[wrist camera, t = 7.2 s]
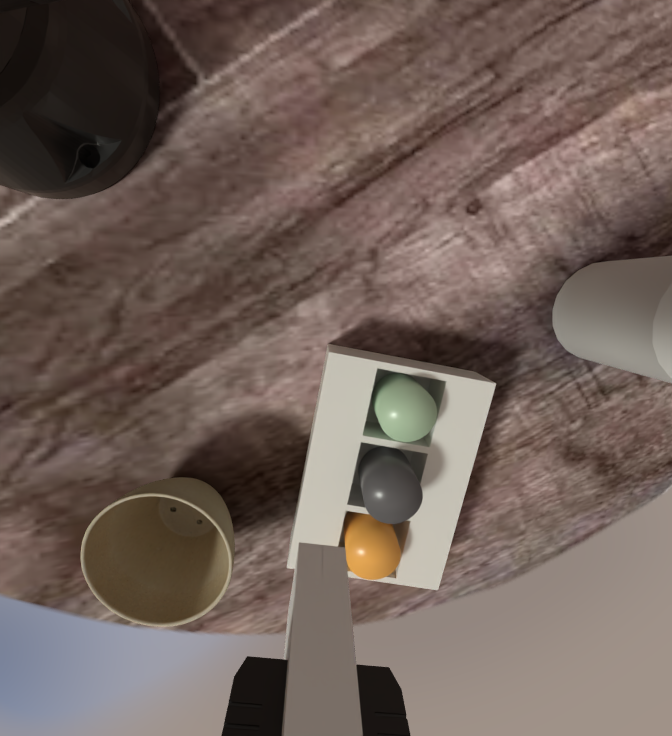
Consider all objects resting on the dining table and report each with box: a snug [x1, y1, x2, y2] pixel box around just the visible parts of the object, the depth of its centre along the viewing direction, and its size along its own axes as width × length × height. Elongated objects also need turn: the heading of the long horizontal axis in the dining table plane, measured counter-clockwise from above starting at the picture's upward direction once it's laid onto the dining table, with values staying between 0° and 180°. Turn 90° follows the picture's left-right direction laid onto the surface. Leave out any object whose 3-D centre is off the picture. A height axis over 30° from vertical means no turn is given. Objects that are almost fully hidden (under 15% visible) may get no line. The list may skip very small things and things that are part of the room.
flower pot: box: [81, 477, 235, 627], centre depth 30 cm, size 10×10×7 cm
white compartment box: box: [287, 344, 496, 590], centre depth 31 cm, size 17×12×4 cm
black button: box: [358, 446, 423, 524], centre depth 29 cm, size 4×4×4 cm
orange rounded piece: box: [343, 511, 401, 580], centre depth 31 cm, size 4×4×4 cm
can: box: [553, 256, 672, 383], centre depth 25 cm, size 8×8×12 cm
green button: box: [371, 373, 437, 442], centre depth 29 cm, size 4×4×4 cm
